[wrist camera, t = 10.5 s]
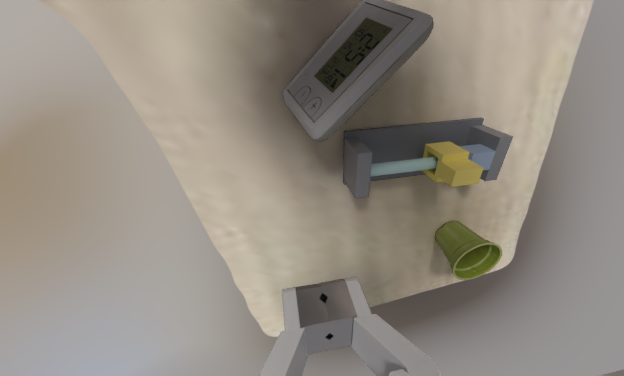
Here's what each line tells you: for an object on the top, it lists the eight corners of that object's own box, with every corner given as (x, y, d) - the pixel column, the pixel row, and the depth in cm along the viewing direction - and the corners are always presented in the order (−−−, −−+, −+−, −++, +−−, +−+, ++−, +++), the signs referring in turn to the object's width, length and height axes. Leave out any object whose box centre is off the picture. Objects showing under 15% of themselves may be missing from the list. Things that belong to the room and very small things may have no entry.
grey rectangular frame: (343, 182, 42) (355, 204, 37) (344, 131, 38) (358, 146, 32) (465, 167, 45) (494, 184, 40) (481, 117, 40) (515, 129, 35)
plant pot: (463, 244, 56) (493, 274, 49) (424, 252, 55) (449, 284, 48) (473, 210, 51) (509, 239, 44) (430, 218, 50) (459, 249, 43)
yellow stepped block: (420, 169, 40) (449, 193, 34) (425, 144, 38) (457, 164, 32) (443, 166, 41) (476, 189, 34) (449, 141, 38) (486, 160, 32)
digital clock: (374, -11, 29) (423, -34, 20) (401, 60, 34) (451, 67, 25) (265, 74, 32) (266, 87, 23) (304, 129, 37) (318, 158, 28)
